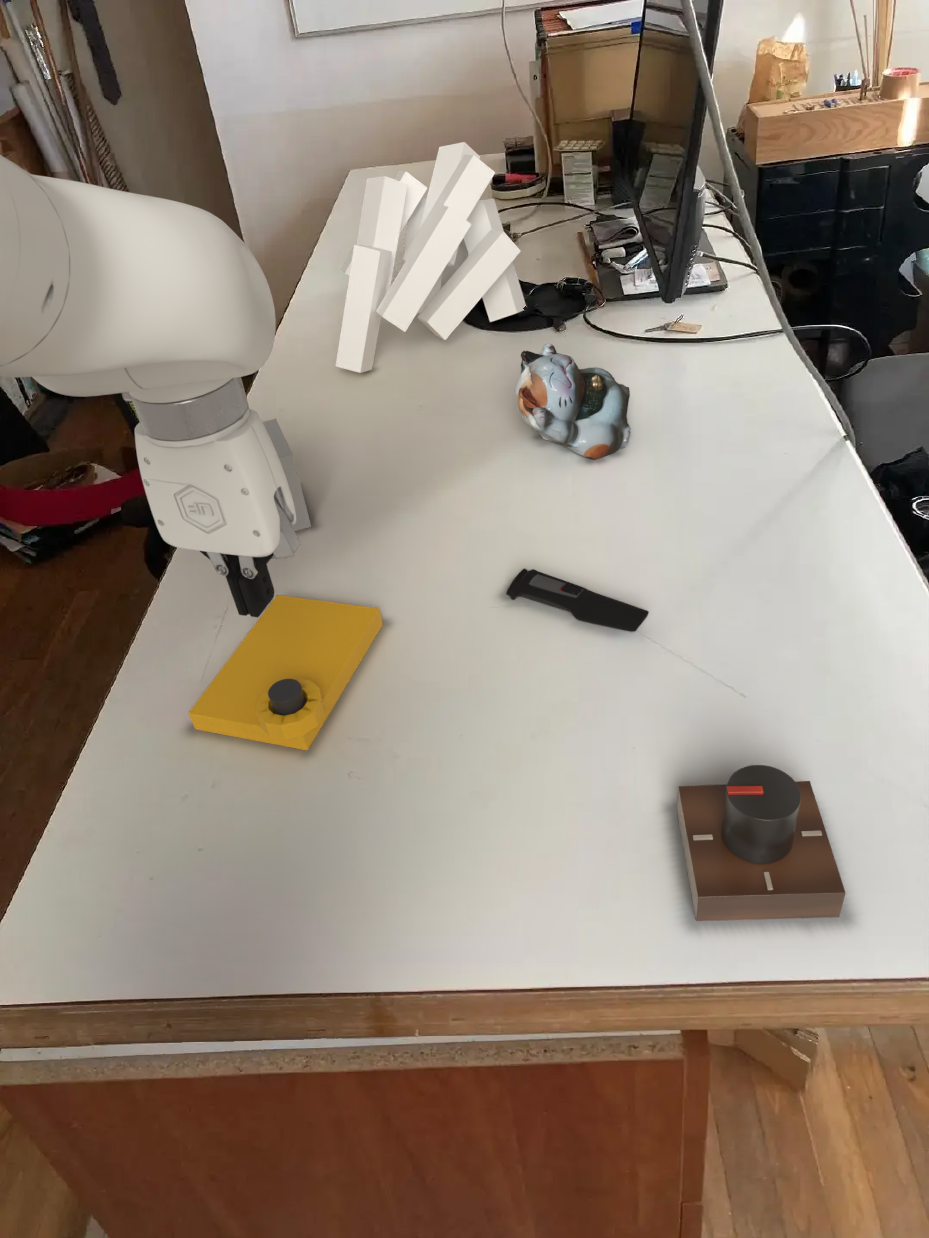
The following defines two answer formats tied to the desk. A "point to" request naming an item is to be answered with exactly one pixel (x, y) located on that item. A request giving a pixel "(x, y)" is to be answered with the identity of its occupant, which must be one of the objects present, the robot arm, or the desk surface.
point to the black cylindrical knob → (286, 697)
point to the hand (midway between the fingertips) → (257, 605)
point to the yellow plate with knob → (288, 670)
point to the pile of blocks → (427, 256)
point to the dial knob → (760, 813)
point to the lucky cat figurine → (573, 403)
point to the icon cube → (289, 473)
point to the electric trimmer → (576, 600)
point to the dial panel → (750, 888)
